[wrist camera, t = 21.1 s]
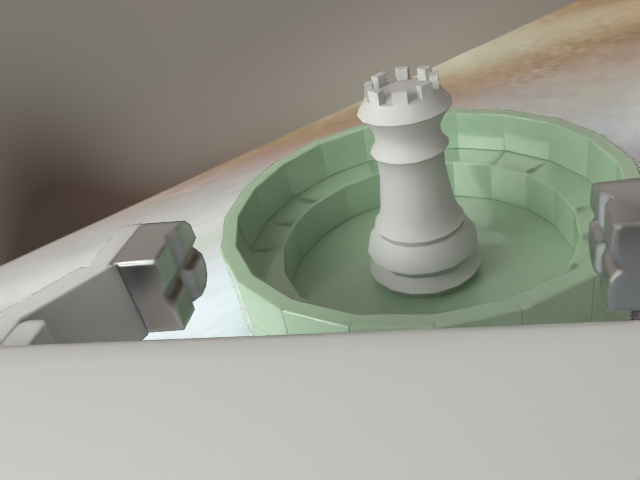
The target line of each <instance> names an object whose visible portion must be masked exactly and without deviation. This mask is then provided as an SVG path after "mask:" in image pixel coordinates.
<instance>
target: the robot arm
mask: <svg viewBox="0 0 640 480" xmlns="http://www.w3.org/2000/svg"><path fill="white" fill-rule="evenodd" d="M590 206H591V209H592V211H593V214H594V216H595V218H594V219H593V220H592V221H591V222H590V223H589V234H588V241H589V254H590V258H591V263H592V266H593V269H594V272H595V273H597V274H598V275H600V289H601V292H602V294H603V297H604V300H605V303H606V305H607V308H608V311H635V310H640V178H631V179H622V180H614V181H605V182H596V183H593V184H592V186H591V191H590ZM195 239H196V237H195V234H194V232H193V230H192V227H191V225H190V224H189V223H187V222H186V221H175V222H161V223H148V224H134V225H126V226H121V227H119V228H118V229H117V231H116V232H115V233H114V234H113V236H112V237H111V238H110V239H109V241H108V242H107V243H106V244H105V245H104V247H103V248H102V249H101V250H100V252H99V253H98V254H97V255H96V257H95V258H94V259H93V260H92V262H91V263H90V264H89V265H88V266H87V267H80V268H79V269H77V270H75V271H73V272H71V273H70V274H68V275H66V276H64V277H62V278H61V279H59V280H57V281H55V282H53V283H52V284H50V285H48V286H46V287H44V288H43V289H41V290H39V291H37V292H35V293H34V294H32V295H30V296H28V297H26V298H25V299H23V300H21V301H19V302H18V303H16V304H14V305H12V306H10V307H9V308H7V309H5V310H3V311H1V312H0V480H640V320H633V321H609V322H584V323H560V324H535V325H510V326H486V327H461V328H437V329H412V330H388V331H363V332H338V333H314V334H289V335H264V336H240V337H215V338H191V339H166V340H142V339H144V338H145V337H146V336H147V335H148V332H162V331H176V330H184V329H185V327H186V325H187V324H188V322H189V320H190V318H191V316H192V314H193V312H194V310H195V308H194V306H193V303H192V302H193V301H195V300H196V299H198V298H199V297H200V296H202V294H203V292H204V290H205V287H206V281H207V270H206V264H205V261H204V258H203V255H202V254H201V253H200V252H199V251H197V250H196V249H195V248H194V247H193V244H194V241H195Z"/></svg>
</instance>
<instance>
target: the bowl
mask: <svg viewBox="0 0 640 480" xmlns="http://www.w3.org/2000/svg"><path fill="white" fill-rule="evenodd" d="M440 126H441V130H442V132H443V133H444V134H445V135H446V136H447V137H449V145H448V146H447V148H446V149H445V151H444V155H445V165H446V168H447V172H448V176H449V180H450V184H451V188H452V192H453V195H454V197H455V199H456V202H457V203H458V204H459V205H460V206H461V207H462V208H463V209H464V214H465V215H466V216H467V217H468V218H469V219H470V220H471V221H472V222H473V223H474V226H475V228H476V230H477V238H478V244H477V246H478V247H479V248H480V255H481V263H480V265H479V266H478V268H477V270H476V272H475V273H474V275H473V276H472V277H471V278H470V279H469V280H468V282H467V283H465V284H464V285H462V286H461V287H459V288H458V289H457V290H455V291H454V292H451V293H448V294H445V295H442V296H439V297H435V298H420V299H414V298H410V297H405V296H400V295H397V294H395V293H394V292H392V291H390V290H389V289H387V288H385V287H384V286H383V285H381V284H380V283H378V282H377V281H376V280H375V278H374V276H373V274H372V273H371V271H370V264H371V256H370V254H369V252H368V248H369V241H370V234H371V231H372V230H373V229H374V228H375V220H376V216H377V215H378V214H379V213H380V208H381V201H380V174H379V168H378V162H377V161H376V160H375V159H374V157H373V156H372V155H371V154H370V153H371V147H372V145H373V144H374V142H375V137H374V134H373V131H372V130H371V129H370V128H369V127H368V126H367V125H365V124H361V125H357V126H355V127H352V128H349V129H346V130H344V131H341V132H338V133H335V134H332V135H330V136H327V137H324V138H321V139H319V140H316V141H313V142H311V143H309V144H308V145H306V146H304V147H302V148H300V149H298V150H297V151H295V152H293V153H291V154H289V155H287V156H285V157H284V158H282V159H280V160H278V161H276V162H275V163H274V164H272V165H271V166H270V167H269V168H268V169H266V170H265V171H264V172H263V173H262V174H260V175H259V176H258V177H257V178H256V179H254V180H253V181H252V182H251V183H250V184H248V185H247V186H246V187H245V188H244V189H243V190H242V192H241V193H240V195H239V196H238V198H237V199H236V201H235V202H234V204H233V206H232V207H231V209H230V210H229V212H228V213H227V215H226V216H225V218H224V226H223V235H222V244H221V253H222V256H223V259H224V262H225V265H226V268H227V270H228V273H229V276H230V279H231V282H232V284H233V287H234V289H235V293H236V296H237V298H238V301H239V304H240V307H241V310H242V313H243V315H244V318H245V321H246V324H247V326H248V328H249V330H250V332H251V334H252V336H264V335H289V334H314V333H338V332H363V331H388V330H412V329H437V328H461V327H486V326H510V325H535V324H560V323H584V322H609V321H630V318H631V314H632V311H608V308H607V305H606V303H605V300H604V297H603V294H602V292H601V289H600V275H598V274H597V273H595V272H594V269H593V266H592V263H591V258H590V254H589V241H588V234H589V223H590V222H591V221H592V220H593V219H594V218H595V216H594V214H593V211H592V209H591V206H590V191H591V186H592V184H593V183H596V182H605V181H614V180H622V179H631V178H640V172H639V170H638V167H637V165H636V162H635V161H634V159H632V158H631V157H630V156H629V155H627V154H626V153H625V152H623V151H622V150H621V149H620V148H618V147H617V146H616V145H615V144H613V143H612V142H611V141H609V140H608V139H607V138H606V137H604V136H603V135H601V134H599V133H596V132H594V131H591V130H588V129H586V128H583V127H580V126H578V125H575V124H572V123H570V122H567V121H565V120H562V119H558V118H554V117H548V116H543V115H537V114H531V113H525V112H519V111H513V110H499V109H450V110H447V112H446V114H445V115H444V117H443V119H442V120H441V125H440Z"/></svg>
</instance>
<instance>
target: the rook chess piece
mask: <svg viewBox="0 0 640 480" xmlns="http://www.w3.org/2000/svg"><path fill="white" fill-rule="evenodd" d="M395 72H396V81H393V82H389V83H387V78H386V73H384V72H380V73H378V74H375V75H373V76H371V78H372V81H368V82H365V83H364V86H363V87H364V93H365V99H364V100H363V102H362V104H361V106H360V108H359V111H358V114H357V116H358V117H359V118H360V120H361V121H362V122H363V123H364V124H365V125H367V126H368V127H369V128H370V129H371V130H372V131H373V134H374V137H375V142H374V144H373V145H372V147H371V153H370V154H371V155H372V156H373V157H374V159H375V160H376V161H377V162H378V168H379V174H380V201H381V208H380V213H379V214H378V215H377V216H376V220H375V228H374V229H373V230H372V231H371V234H370V241H369V248H368V252H369V254H370V256H371V264H370V271H371V273H372V274H373V276H374V278H375V280H376V281H377V282H378V283H380V284H381V285H383V286H384V287H385V288H387V289H389V290H390V291H392V292H394V293H395V294H397V295H400V296H405V297H410V298H414V299H420V298H435V297H439V296H442V295H445V294H448V293H451V292H454V291H455V290H457V289H458V288H459V287H461V286H462V285H464V284H465V283H467V282H468V280H469V279H470V278H471V277H472V276H473V275H474V273H475V272H476V270H477V268H478V266H479V265H480V263H481V255H480V248H479V247H478V246H477V244H478V238H477V230H476V228H475V226H474V223H473V222H472V221H471V220H470V219H469V218H468V217H467V216H466V215H465V214H464V209H463V208H462V207H461V206H460V205H459V204H458V203H457V202H456V199H455V197H454V195H453V192H452V188H451V184H450V180H449V176H448V172H447V168H446V165H445V155H444V151H445V149H446V148H447V146H448V145H449V137H447V136H446V135H445V134H444V133H443V132H442V130H441V126H440V125H441V120H442V119H443V117H444V115H445V114H446V112H447V110H448V109H449V107H450V106H451V104H452V97H451V95H450V94H449V93H448V92H447V91H446V90H445V89H444V88H443V87H442V86H441V85H439V79H438V71H435V72H432V67H427V66H420V67H419V68H417V72H418V78H410V71H409V66H404V67H398V68H395Z"/></svg>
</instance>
